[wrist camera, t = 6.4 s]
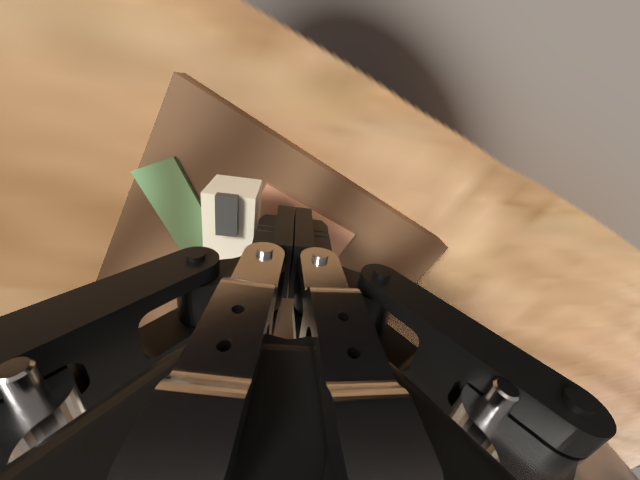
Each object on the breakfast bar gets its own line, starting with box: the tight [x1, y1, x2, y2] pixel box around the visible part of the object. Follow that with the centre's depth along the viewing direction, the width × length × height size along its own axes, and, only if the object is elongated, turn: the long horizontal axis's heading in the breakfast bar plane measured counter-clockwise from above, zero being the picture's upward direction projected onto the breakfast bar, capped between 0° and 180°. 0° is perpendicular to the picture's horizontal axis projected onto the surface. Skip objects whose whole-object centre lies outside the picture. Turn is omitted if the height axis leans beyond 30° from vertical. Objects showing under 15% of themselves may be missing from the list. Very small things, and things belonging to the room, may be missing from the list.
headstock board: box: [96, 72, 448, 339], centre depth 20 cm, size 18×18×2 cm
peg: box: [201, 174, 262, 260], centre depth 15 cm, size 4×13×6 cm, turn 171°
